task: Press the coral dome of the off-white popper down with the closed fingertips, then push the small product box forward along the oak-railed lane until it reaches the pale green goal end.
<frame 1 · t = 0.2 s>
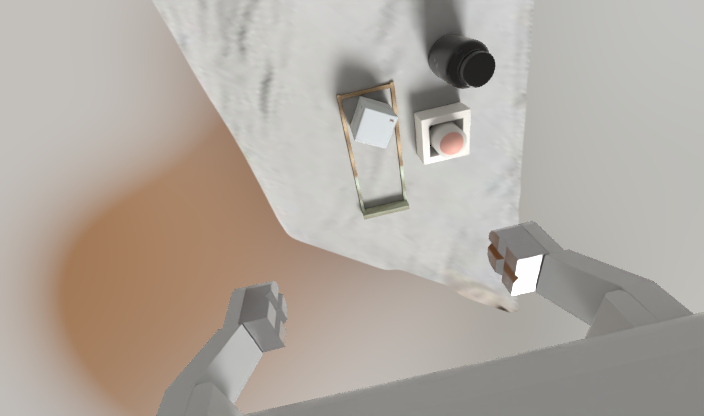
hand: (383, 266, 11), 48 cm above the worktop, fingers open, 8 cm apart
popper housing: (437, 129, 60), on the worktop
supplement bottle: (446, 56, 52), on the worktop
track: (375, 153, 61), on the worktop
plunger: (448, 140, 55), point 6 cm above the worktop, slide at 0.0 cm
product box: (369, 115, 57), on the worktop
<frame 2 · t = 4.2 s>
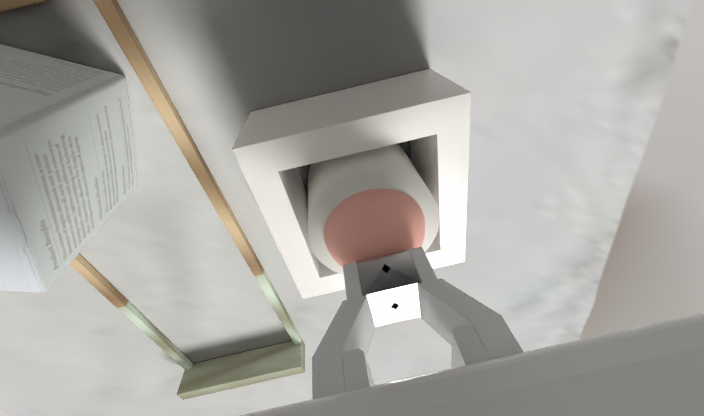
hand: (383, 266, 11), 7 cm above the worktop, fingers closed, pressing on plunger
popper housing: (356, 169, 17), on the worktop
track: (159, 245, 19), on the worktop
plunger: (369, 213, 14), point 4 cm above the worktop, slide at 1.4 cm, touching gripper
product box: (65, 120, 14), on the worktop
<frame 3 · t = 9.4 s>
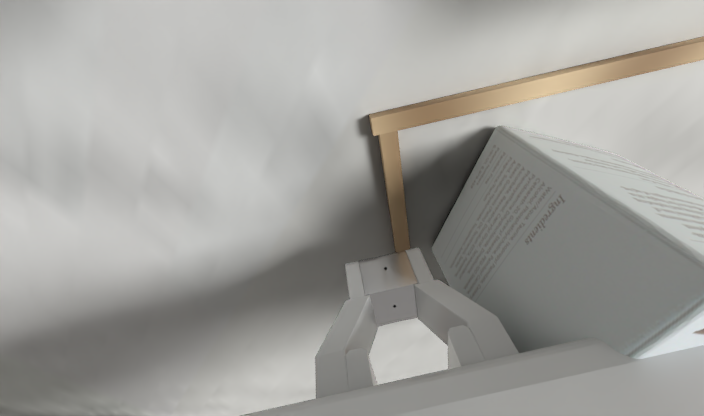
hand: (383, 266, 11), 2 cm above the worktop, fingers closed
track: (687, 164, 13), on the worktop
product box: (515, 201, 13), on the worktop, touching gripper
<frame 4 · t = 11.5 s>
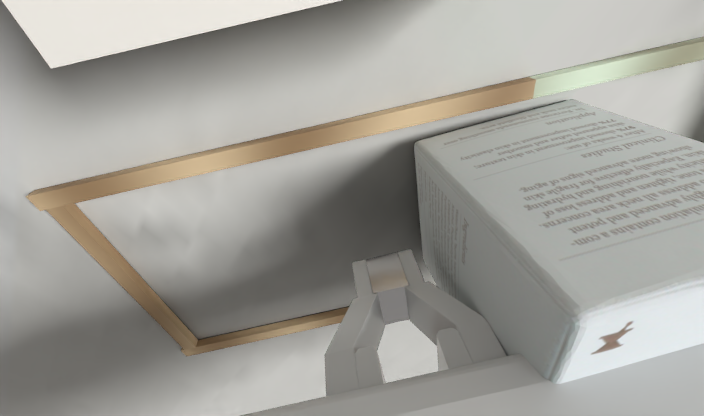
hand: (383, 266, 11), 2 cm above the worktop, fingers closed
track: (419, 223, 13), on the worktop
product box: (485, 185, 12), on the worktop, touching gripper
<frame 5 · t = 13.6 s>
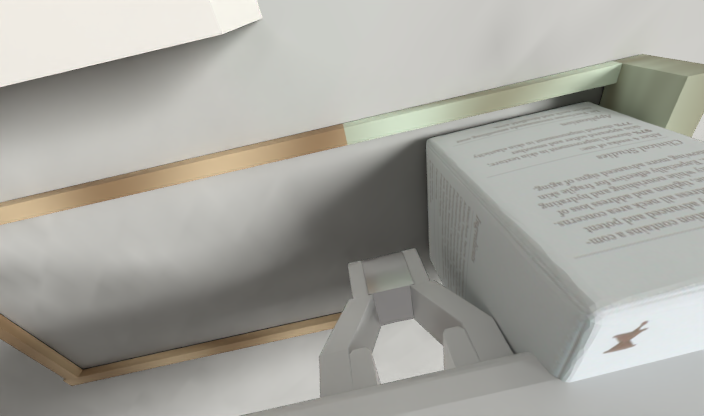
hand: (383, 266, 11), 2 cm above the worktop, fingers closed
track: (277, 259, 13), on the worktop
product box: (494, 186, 12), on the worktop, touching gripper
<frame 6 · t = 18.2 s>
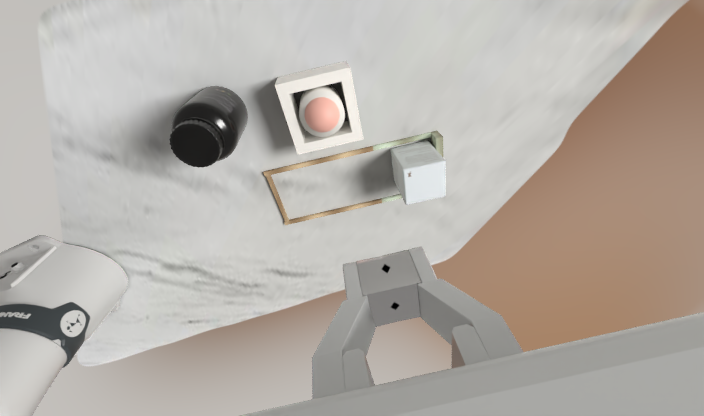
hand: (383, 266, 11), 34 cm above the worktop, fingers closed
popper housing: (320, 103, 41), on the worktop
supplement bottle: (222, 111, 40), on the worktop
track: (353, 181, 48), on the worktop
plunger: (321, 111, 38), point 4 cm above the worktop, slide at 2.1 cm
product box: (410, 160, 48), on the worktop
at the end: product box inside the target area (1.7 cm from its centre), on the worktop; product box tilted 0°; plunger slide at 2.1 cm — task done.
